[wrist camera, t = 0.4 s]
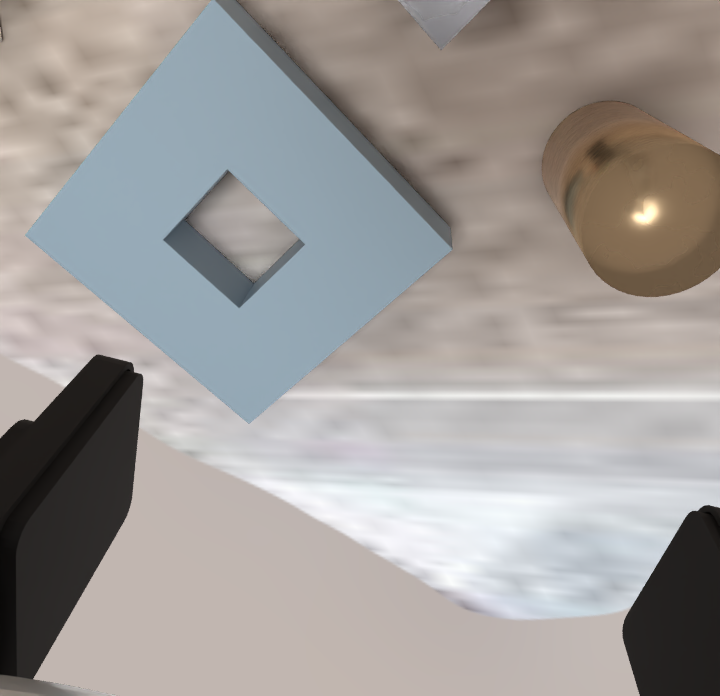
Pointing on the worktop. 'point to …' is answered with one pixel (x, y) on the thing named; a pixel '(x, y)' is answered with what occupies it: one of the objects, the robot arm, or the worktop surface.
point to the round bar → (636, 198)
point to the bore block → (269, 184)
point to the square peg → (443, 16)
